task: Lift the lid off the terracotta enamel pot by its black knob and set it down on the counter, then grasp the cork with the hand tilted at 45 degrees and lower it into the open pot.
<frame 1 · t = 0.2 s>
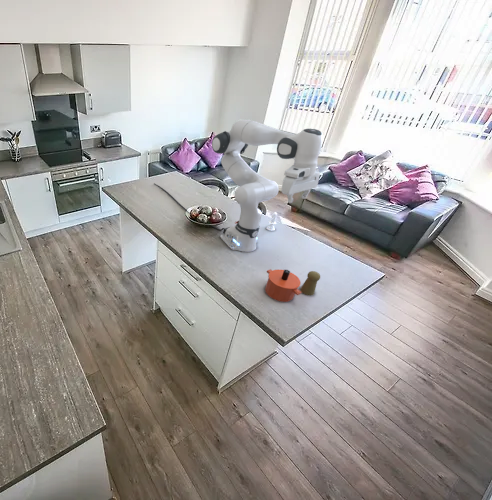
hand: (297, 200, 131), 39 cm above the countertop, tool pointing down, fingers open, 8 cm apart
pot lid: (284, 279, 132), point 8 cm above the countertop, touching pot
cork: (307, 291, 138), on the countertop
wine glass: (270, 229, 187), on the countertop
pot: (279, 292, 137), on the countertop
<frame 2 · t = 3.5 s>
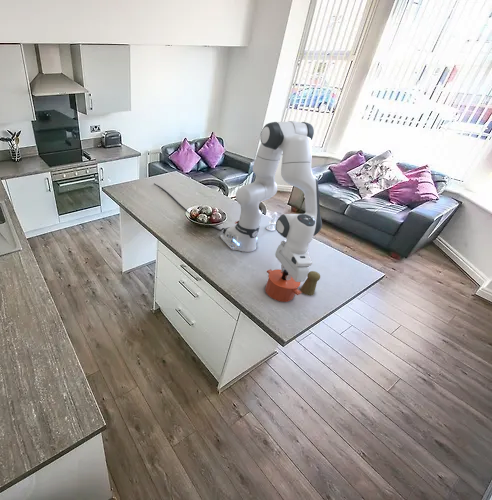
hand: (285, 276, 131), 10 cm above the countertop, tool pointing down, fingers closed on pot lid, 2 cm apart
pot lid: (283, 279, 132), point 8 cm above the countertop, touching gripper, pot
everything else where it was.
when the fingers open (2 cm above the countertop, at t = 11.1 s): pot lid stays where it is, point 1 cm above the countertop.
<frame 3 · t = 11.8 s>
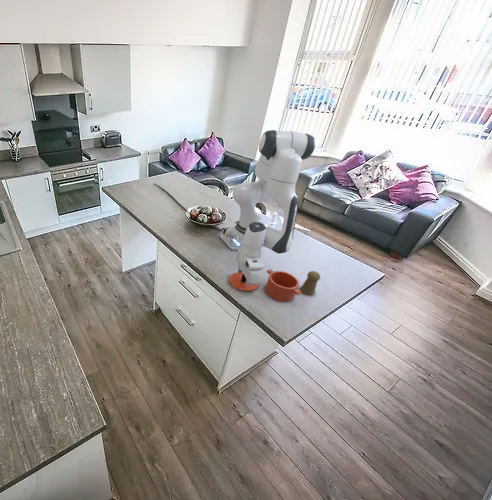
hand: (243, 278, 141), 2 cm above the countertop, tool pointing down, fingers open, 8 cm apart
pot lid: (243, 281, 142), point 1 cm above the countertop
everything else where it was.
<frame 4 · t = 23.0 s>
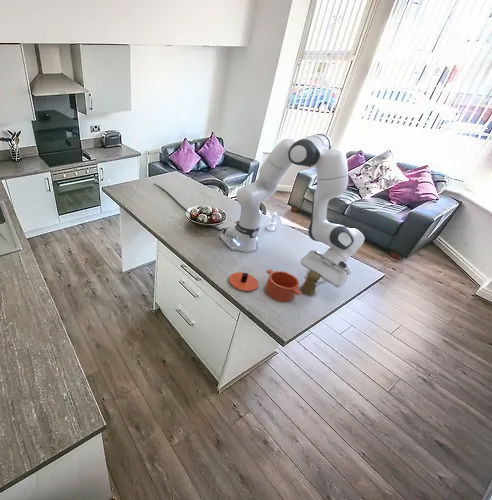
hand: (310, 282, 134), 6 cm above the countertop, tool tilted 45°, fingers closed on cork, 4 cm apart
cork: (307, 291, 138), on the countertop, touching gripper
everything else where it was.
when the fingers open (7 cm above the countertop, at t = 32.4 s): cork stays where it is, resting on pot.
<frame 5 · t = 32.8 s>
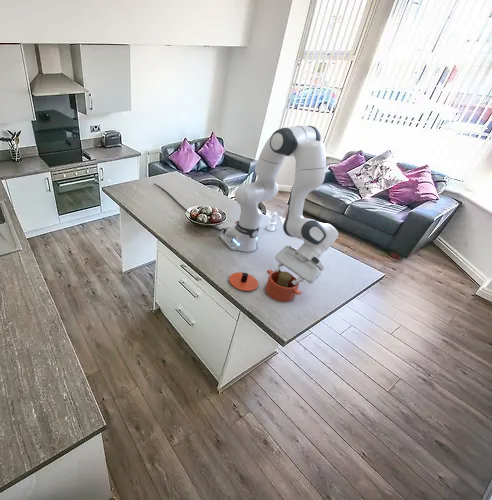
hand: (284, 277, 132), 9 cm above the countertop, tool tilted 45°, fingers open, 8 cm apart
cork: (279, 292, 137), resting on pot
everything else where it was.
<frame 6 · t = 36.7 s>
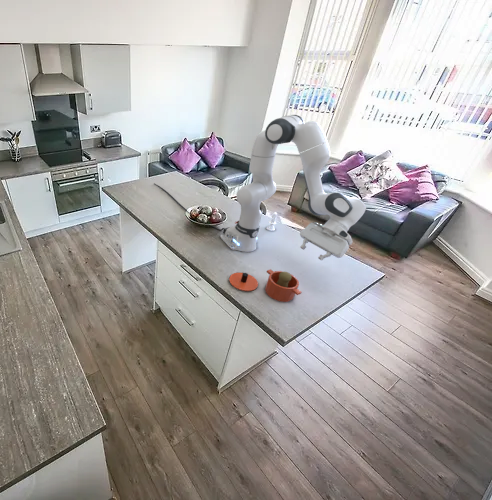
hand: (310, 253, 131), 19 cm above the countertop, tool tilted 45°, fingers open, 8 cm apart
nothing on the countertop moved.
at the end: pot lid inside the target area (0.4 cm from its centre), point 0.6 cm above the countertop; cork inside the target area in the pot (0.0 cm from its centre), point 0.3 cm above the pot's base; cork tilted 0° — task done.
